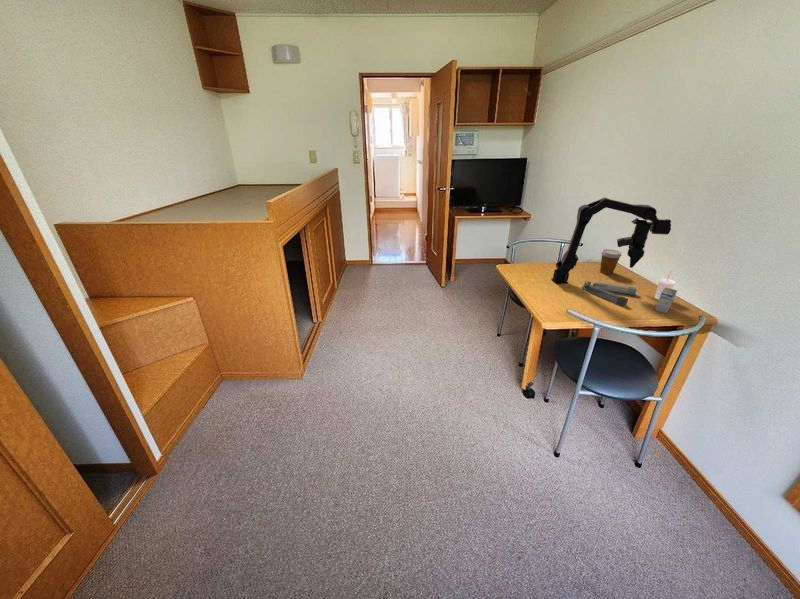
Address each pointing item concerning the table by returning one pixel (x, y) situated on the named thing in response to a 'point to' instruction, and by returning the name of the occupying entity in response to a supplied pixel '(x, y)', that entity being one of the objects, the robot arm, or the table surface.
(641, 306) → the table surface
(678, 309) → the table surface
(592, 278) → the table surface
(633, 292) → the bar
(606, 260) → the disposable coffee cup
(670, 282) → the beverage cup
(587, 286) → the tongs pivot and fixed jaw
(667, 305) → the medicine box
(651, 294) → the table surface
